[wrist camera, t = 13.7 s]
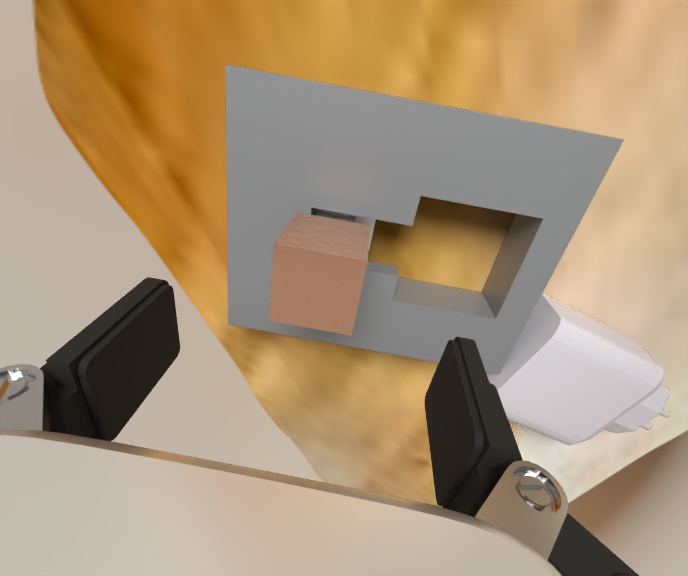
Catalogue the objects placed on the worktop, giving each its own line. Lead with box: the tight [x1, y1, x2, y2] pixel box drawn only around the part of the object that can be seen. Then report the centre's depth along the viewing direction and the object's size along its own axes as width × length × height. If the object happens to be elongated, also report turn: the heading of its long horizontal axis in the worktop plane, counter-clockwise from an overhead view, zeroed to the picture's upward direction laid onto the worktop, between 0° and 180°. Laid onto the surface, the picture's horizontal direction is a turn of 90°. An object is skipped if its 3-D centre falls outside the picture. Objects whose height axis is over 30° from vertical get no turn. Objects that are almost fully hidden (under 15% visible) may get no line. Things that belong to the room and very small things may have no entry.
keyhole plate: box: [226, 65, 623, 374], centre depth 23 cm, size 20×16×4 cm
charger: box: [486, 293, 670, 445], centre depth 27 cm, size 5×9×15 cm
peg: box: [269, 208, 376, 336], centre depth 20 cm, size 5×5×10 cm
